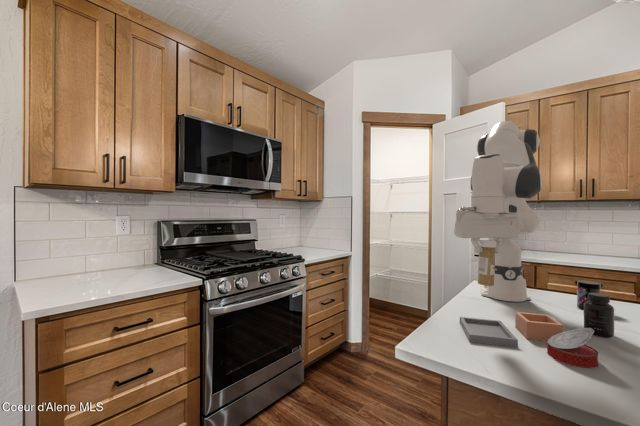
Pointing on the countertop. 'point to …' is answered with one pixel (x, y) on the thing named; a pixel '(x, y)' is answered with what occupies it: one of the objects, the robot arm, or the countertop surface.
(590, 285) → the supplement container
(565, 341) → the canned food
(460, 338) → the countertop surface
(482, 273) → the sprinkles bottle
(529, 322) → the terracotta holder
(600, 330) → the supplement bottle
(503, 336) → the charcoal tray
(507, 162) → the robot arm
